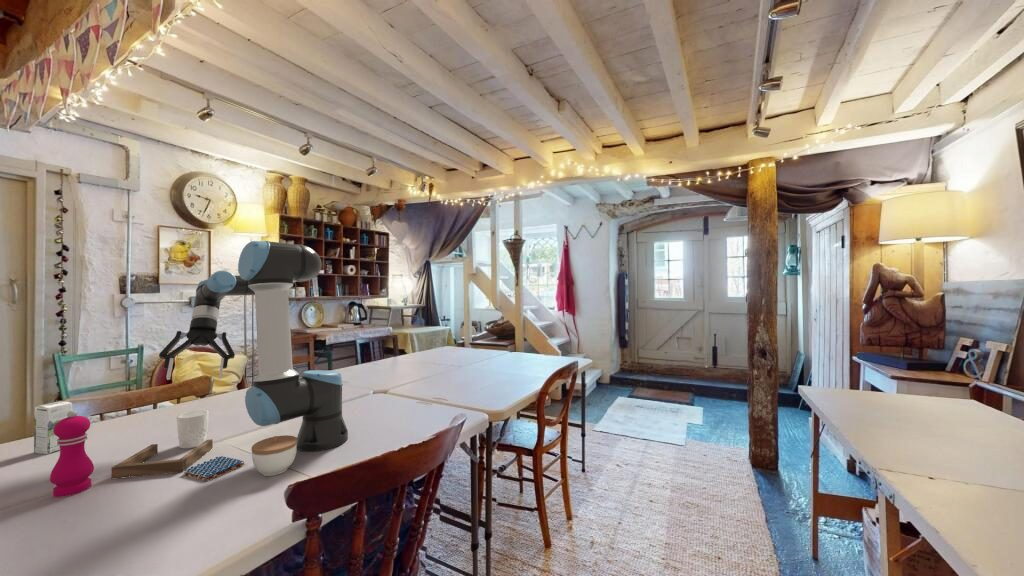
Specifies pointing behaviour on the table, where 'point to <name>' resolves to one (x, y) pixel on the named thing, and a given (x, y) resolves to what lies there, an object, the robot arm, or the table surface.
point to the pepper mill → (71, 456)
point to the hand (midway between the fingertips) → (194, 378)
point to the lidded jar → (274, 454)
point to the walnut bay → (158, 462)
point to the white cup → (192, 428)
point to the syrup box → (48, 425)
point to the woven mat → (213, 468)
